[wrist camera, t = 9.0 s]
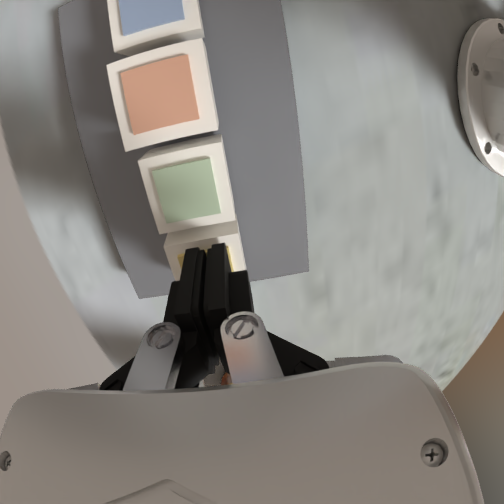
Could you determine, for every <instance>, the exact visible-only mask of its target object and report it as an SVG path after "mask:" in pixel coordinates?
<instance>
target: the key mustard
mask: <svg viewBox="0 0 504 504" xmlns="http://www.w3.org/2000/svg"><path fill="white" fill-rule="evenodd" d="M235 218H236V220H234V221H229V222H223V223H217V224H212V225H206V226H201V227H196V228H190V229H185V230H180V231H174V232H169V233H168V234H167V237H166V240H165V243H164V250H165V253H166V256H167V259H168V262H169V264H170V267H171V270H172V273H173V276H174V278H175V281H179V280H180V276H181V270H182V265H183V260H184V255H185V250H186V249H189V248H195V247H199V248H200V250H203V249H204V250H205V253H206V257H207V249H209V248H212V245H213V244H218V243H224V242H225V245H226V249H227V253H228V258H229V262H230V267H231V271H232V272H236V271H242V270H247V269H246V263H245V258H244V253H243V248H242V242H241V237H240V232H239V226H238V221H237V215H236V213H235Z"/></svg>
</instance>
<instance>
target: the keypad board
mask: <svg viewBox="0 0 504 504" xmlns="http://www.w3.org/2000/svg"><path fill="white" fill-rule="evenodd" d="M199 5H200V12H201V18H202V23H203V29H204V35H205V37H204V38H202V39H203V42H204V44H205V46H206V52H207V58H208V64H209V69H210V75H211V81H212V87H213V92H214V98H215V104H216V109H217V115H218V121H219V127H218V130H216V131H210V132H205V133H200V134H195V135H191V136H186V137H182V138H177V139H173V140H169V141H165V142H161V143H157V144H153V145H149V146H145V147H141V148H138V149H134V150H131V151H127V152H125V148H124V144H123V140H122V136H121V132H120V128H119V124H118V120H117V115H116V111H115V107H114V102H113V97H112V92H111V87H110V82H109V77H108V72H107V66H106V65H108V64H110V63H113V62H116V61H119V60H122V59H124V58H127V57H130V56H126V55H123V54H119V53H115V52H114V48H113V42H112V35H111V28H110V21H109V13H108V4H107V0H73V1H71V2H69V3H67V4H65V5H63V6H61V7H59V8H58V14H59V26H60V36H61V44H62V52H63V59H64V65H65V72H66V77H67V83H68V88H69V93H70V98H71V103H72V107H73V112H74V116H75V121H76V125H77V129H78V133H79V137H80V140H81V144H82V148H83V151H84V155H85V158H86V162H87V165H88V168H89V172H90V175H91V178H92V181H93V184H94V187H95V190H96V193H97V196H98V199H99V202H100V205H101V208H102V211H103V214H104V216H105V219H106V222H107V224H108V227H109V230H110V232H111V235H112V237H113V240H114V242H115V245H116V247H117V250H118V252H119V255H120V257H121V259H122V262H123V264H124V267H125V269H126V271H127V273H128V276H129V278H130V280H131V282H132V285H133V287H134V289H135V291H136V293H137V295H138V298H139V299H142V298H149V297H156V296H163V295H169V291H170V287H171V283H172V282H173V281H175V278H174V276H173V273H172V270H171V267H170V264H169V262H168V259H167V256H166V253H165V250H164V243H165V240H166V237H167V234H168V233H164V234H159V232H158V229H157V226H156V222H155V219H154V216H153V213H152V210H151V206H150V203H149V200H148V196H147V193H146V189H145V186H144V182H143V179H142V175H141V172H140V168H139V164H138V160H139V159H140V158H141V157H142V156H143V155H144V154H145V153H147V152H148V151H149V150H150V149H154V148H158V147H162V146H166V145H170V144H175V143H179V142H183V141H188V140H193V139H197V138H202V137H207V136H213V135H218V134H222V139H223V144H224V150H225V156H226V161H227V167H228V172H229V178H230V183H231V189H232V194H233V199H234V208H235V213H236V215H237V221H238V226H239V232H240V237H241V242H242V248H243V253H244V258H245V263H246V269H247V271H248V276H249V282H252V281H257V280H263V279H269V278H275V277H280V276H286V275H292V274H297V273H303V272H308V271H309V260H308V239H307V221H306V205H305V191H304V178H303V166H302V155H301V144H300V134H299V125H298V116H297V107H296V99H295V91H294V83H293V76H292V69H291V62H290V55H289V48H288V42H287V36H286V30H285V24H284V18H283V12H282V7H281V1H280V0H199Z"/></svg>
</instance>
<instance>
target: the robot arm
mask: <svg viewBox="0 0 504 504" xmlns="http://www.w3.org/2000/svg"><path fill="white" fill-rule="evenodd" d="M457 79H458V97H459V103H460V111H461V115H462V119H463V124H464V128H465V131H466V134H467V136H468V139H469V142H470V144H471V146H472V148H473V150H474V152H475V154H476V156H477V157H478V158H479V160H480V161H481V162H482V164H483V165H485V166H486V167H487V168H488V169H489V170H491V171H493V172H495V173H496V174H498V175H500V176H502V177H504V20H502V19H497V18H486V19H482V20H479V21H477V22H476V23H474V24H473V25H472V26H471V27H470V29H469V30H468V31H467V33H466V34H465V37H464V40H463V42H462V45H461V49H460V54H459V59H458V74H457ZM219 357H220V360H221V362H222V364H223V366H224V369H225V372H227V373H228V374H230V375H231V379H232V383H233V384H229V385H220V386H210V387H204V383H205V382H204V378H205V377H206V376H207V375H208V374H213V373H215V365H219ZM422 446H423V447H422ZM0 504H484V501H483V497H482V493H481V489H480V485H479V481H478V477H477V474H476V471H475V468H474V465H473V462H472V459H471V456H470V453H469V450H468V448H467V445H466V442H465V440H464V437H463V434H462V432H461V429H460V427H459V425H458V423H457V420H456V418H455V416H454V414H453V412H452V410H451V408H450V406H449V404H448V402H447V400H446V399H445V397H444V395H443V393H442V392H441V390H440V388H439V387H438V385H437V384H436V383H435V381H434V380H433V379H432V378H431V377H430V376H429V375H428V374H427V373H426V372H425V371H423V370H422V369H420V368H418V367H416V366H413V365H409V364H404V363H403V362H402V361H401V360H400V359H399V358H397V357H394V356H391V355H380V356H365V357H345V358H335V361H325V360H324V359H323V358H321V357H319V356H317V355H315V354H313V353H311V352H309V351H307V350H305V349H303V348H300V347H298V346H296V345H294V344H292V343H290V342H288V341H286V340H284V339H282V338H280V337H278V336H276V335H274V334H272V333H270V332H268V331H266V329H265V326H264V323H263V321H262V319H261V318H260V317H259V316H258V315H257V314H255V313H254V307H253V299H252V293H251V287H250V282H249V276H248V271H247V270H242V271H236V272H232V271H231V267H230V262H229V258H228V253H227V249H226V245H225V242H224V243H218V244H213V245H212V248H209V249H207V257H206V253H205V250H204V249H203V250H200V248H199V247H195V248H189V249H186V250H185V255H184V260H183V265H182V270H181V276H180V280H179V281H173V282H172V283H171V287H170V291H169V296H168V301H167V306H166V311H165V316H164V321H163V322H162V323H159V324H156V325H154V326H152V327H151V328H149V329H148V330H147V331H146V333H145V335H144V336H143V339H142V341H141V344H140V346H139V349H138V351H137V354H136V356H135V357H134V358H132V359H131V360H130V361H128V362H127V363H126V364H125V365H123V366H122V367H121V368H120V369H118V370H117V371H116V372H114V373H113V374H112V375H111V376H109V377H108V378H107V379H106V380H105V381H104V382H103V383H102V384H101V385H99V384H98V383H96V384H91V385H86V386H81V387H76V388H71V389H51V390H42V391H36V392H32V393H30V394H27V395H25V396H23V397H21V398H20V399H18V400H17V401H16V402H15V403H14V404H13V406H12V408H11V410H10V412H9V414H8V417H7V419H6V421H5V424H4V427H3V430H2V433H1V436H0Z"/></svg>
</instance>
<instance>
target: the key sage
mask: <svg viewBox="0 0 504 504" xmlns="http://www.w3.org/2000/svg"><path fill="white" fill-rule="evenodd" d="M138 164H139V168H140V172H141V175H142V179H143V182H144V186H145V189H146V193H147V196H148V200H149V203H150V206H151V210H152V213H153V216H154V219H155V222H156V226H157V229H158V232H159V234H164V233H169V232H174V231H180V230H185V229H190V228H196V227H201V226H206V225H212V224H217V223H223V222H229V221H234V220H236V218H235V208H234V199H233V194H232V189H231V183H230V178H229V172H228V167H227V161H226V156H225V150H224V144H223V139H222V134H218V135H213V136H207V137H202V138H197V139H193V140H188V141H183V142H179V143H175V144H170V145H166V146H162V147H158V148H154V149H150V150H149V151H148V152H147V153H145V154H144V155H143V156H142V157H141V158H140V159H139V160H138Z"/></svg>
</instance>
